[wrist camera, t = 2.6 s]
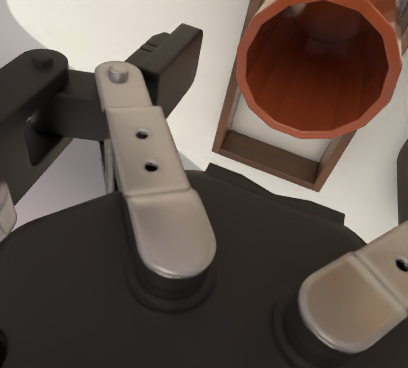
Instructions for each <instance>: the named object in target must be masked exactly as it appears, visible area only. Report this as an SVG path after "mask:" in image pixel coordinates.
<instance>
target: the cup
mask: <svg viewBox="0 0 408 368" xmlns="http://www.w3.org/2000/svg"><path fill="white" fill-rule="evenodd" d="M401 69H402V49H401V24H400V0H265V2H264V3H263V4H262V6H261V7H260V9H259V10H258V11H257V13H256V14H255V16H254V17H253V18H252V20H251V22H250V24H249V26H248V28H247V30H246V32H245V34H244V36H243V37H242V39H241V41H240V43H239V45H238V48H237V73H236V79H237V83H238V85H239V87H240V89H241V91H242V94H243V96H244V98H245V100H246V103H247V105H248V107H249V108H250V109H251V110H252V111H253V112H254V113H255V114H256V115H257V116H258V117H260V118H261V119H262V120H263V121H264V122H265V123H266V124H267V125H268V126H270V127H271V128H272V129H275V130H278V131H281V132H283V133H286V134H289V135H291V136H294V137H297V138H301V139H332V138H336V137H338V136H341V135H343V134H346V133H348V132H351V131H354V130H356V129H359V128H361V127H364V126H365V125H366V124H367V123H368V122H369V121H371V120H372V119H373V118H374V117H375V116H376V115H377V114H378V113H379V112H380V111H381V110H382V109H383V108H384V107H385V106H386V105H387V104H388V103H389V102H390V100H391V98H392V95H393V92H394V89H395V86H396V83H397V80H398V78H399V75H400V72H401Z"/></svg>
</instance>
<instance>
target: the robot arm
mask: <svg viewBox="0 0 408 368" xmlns="http://www.w3.org/2000/svg"><path fill="white" fill-rule="evenodd" d="M202 38H203V31H202V30H201V29H198V28H195V27H192V26H189V25H186V24H183V23H182V24H181V25H179V26H178V27H177V28H176V29H175V30H174V31H173V32H172V33H171V34H169V33H166V32H164V33H161V34H157V35H154V36H152V37H151V38H150V39H149V40H148V41H147V42H146V44H145V43H144V44H143V45H142V46H141V47H140V49H138V50H137V51H136V52H134V53H133V54H132V55H131V56H130V57H129V58H128V59H127V60H125V61H124V62H122V61H109V62H105V63H102V64H100V65H98V66H97V67H96V69H95V73H90V72H83V71H76V70H69V68H68V60H67V58H66V57H65V56H64V55H63V54H62V53H60V52H57V51H54V50H49V49H34V50H30V51H26V52H24V53H23V54H21V55H19V56H18V57H16V58H15V59H14V60H12V61H11V62H9V63H8V64H6V65H5V66H4V67H2V68H1V69H0V368H408V140H407V141H406V142H405V144H404V145H403V147H402V148H401V150H400V152H399V155H398V158H397V189H398V224H399V225H398V226H396V227H395V228H393V229H392V230H390V231H388V232H387V233H385V234H383V235H382V236H380V237H378V238H377V239H375V240H374V241H372V242H370V243H369V244H366V243H365V242H364V241H363V240H362V239H361V238H360V237H359V236H358V235H357V234H356V233H354V232H353V231H352V230H350V229H349V228H348V227H346V226H344V217H345V214H343V213H341V212H338V211H335V210H333V209H330V208H328V207H325V206H322V205H320V204H317V203H315V202H312V201H308V200H302V199H297V198H292V197H286V196H281V195H276V194H273V193H271V192H269V191H268V190H266V189H265V188H263V187H261V186H260V185H258V184H256V183H255V182H253V181H251V180H250V179H248V178H246V177H245V176H243V175H241V174H239V173H236V172H233V171H231V170H228V169H226V168H223V167H220V166H218V165H215V164H213V163H209V165H208V167H207V169H206V171H199V170H184V167H183V165H182V162H181V159H180V156H179V154H178V151H177V148H176V145H175V143H174V140H173V137H172V135H171V132H170V129H169V126H168V124H167V121H166V119H167V117H168V116H169V115H170V113H171V112H172V111H173V109H174V108H175V107H176V105H177V104H178V103H179V101H180V100H181V99H182V97H183V96H184V95H185V94H186V92H187V91H188V90H189V88H190V87H191V85H192V83H193V81H194V78H195V75H196V71H197V66H198V60H199V55H200V49H201V44H202ZM29 117H30V119H29ZM28 119H29V120H28ZM27 120H28V121H27ZM73 138H79V139H88V140H95V141H98V148H99V153H100V159H101V165H102V170H103V176H104V181H105V189H106V195H103V196H101V197H98V198H95V199H92V200H89V201H87V202H84V203H81V204H78V205H75V206H72V207H69V208H66V209H64V210H61V211H58V212H55V213H52V214H49V215H46V216H43V217H41V218H38V219H35V220H33V221H30V222H28V223H26V224H24V225H22V226H20V227H18V228H17V229H15V230H14V231H12V229H13V228H14V226H15V224H16V221H17V214H16V211H15V207H14V206H15V205H16V204H17V203H18V201H19V200H20V199H21V198H22V197H23V196H24V195H25V193H26V192H27V191H28V190H29V189H30V188H31V187H32V185H33V184H34V183H35V182H36V181H37V180H38V179H39V177H40V176H41V175H42V174H43V173H44V172H45V171H46V170H47V168H48V167H49V166H50V165H51V164H52V163H53V162H54V160H55V159H56V158H57V157H58V156H59V155H60V153H62V151H63V150H64V149H65V148H66V147H67V146H68V144H69V143H70V142H71V141H72V140H73ZM11 231H12V232H11Z"/></svg>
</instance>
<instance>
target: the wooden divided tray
mask: <svg viewBox="0 0 408 368" xmlns="http://www.w3.org/2000/svg"><path fill="white" fill-rule="evenodd" d="M264 2H265V0H250V3H249V7H248V11H247V15H246V19H245V23H244V26H243V30H242V34H241V38H240V41H241V39H242V37H243V36H244V34H245V32H246V30H247V28H248V26H249V24H250V22H251V20H252V18H253V17H254V16H255V14H256V13H257V11H258V10H259V9H260V7H261V6H262V4H263V3H264ZM400 24H401V49H402V56H403V54H404V53H405V51H406V49H407V48H408V6H407V8H406V10H405V12H404V13H403V15H402V17H401V19H400ZM239 43H240V42H239ZM236 73H237V54H236V58H235V62H234V65H233V69H232V73H231V77H230V81H229V85H228V89H227V93H226V97H225V101H224V104H223V108H222V112H221V116H220V120H219V124H218V128H217V132H216V136H215V140H214V143H213V147H212V152H215V153H217V154H220V155H222V156H225V157H227V158H230V159H233V160H235V161H238V162H240V163H243V164H246V165H248V166H251V167H253V168H256V169H259V170H261V171H264V172H266V173H269V174H272V175H274V176H277V177H279V178H282V179H285V180H287V181H290V182H292V183H295V184H298V185H300V186H303V187H305V188H308V189H312V190H313V191H316V192H319V191H320V190H321V188H322V186H323V185H324V183H325V181H326V180H327V178H328V177H329V175H330V173H331V172H332V170H333V168H334V167H335V165H336V164H337V162H338V160H339V159H340V157H341V155H342V154H343V152H344V150H345V149H346V147H347V146H348V144H349V142H350V141H351V139H352V137H353V136H354V134H355V133H356V131H357V129H356V130H354V131H351V132H348V133H346V134H343V135H341V136H338V137H336V138H333V139H332V141H331V143H330V144H329V146H328V148H327V150H326V152H325V153H324V155H323V157H322V159H321V160H320V162H319V164H318V163H316V162H313V161H310V160H308V159H305V158H302V157H300V156H297V155H294V154H292V153H289V152H286V151H284V150H281V149H278V148H276V147H273V146H270V145H268V144H265V143H262V142H260V141H257V140H254V139H252V138H249V137H246V136H244V135H241V134H238V133H236V132H233V131H230V128H231V125H232V121H233V118H234V114H235V111H236V107H237V104H238V101H239V97H240V94H241V89H240V87H239V85H238V83H237V79H236Z"/></svg>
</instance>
